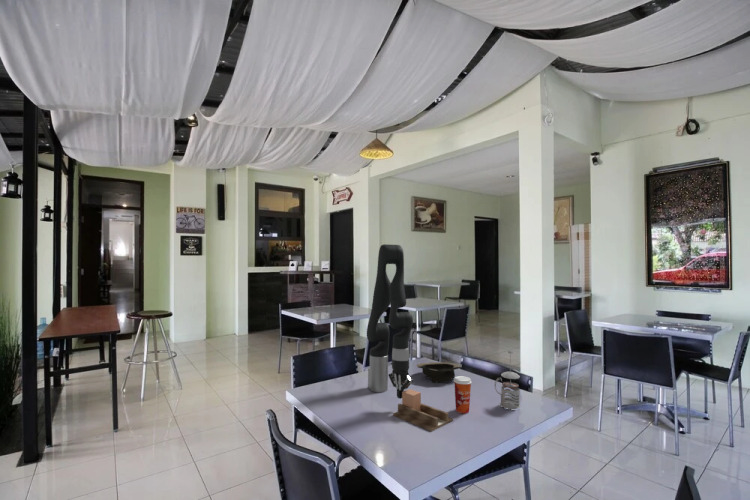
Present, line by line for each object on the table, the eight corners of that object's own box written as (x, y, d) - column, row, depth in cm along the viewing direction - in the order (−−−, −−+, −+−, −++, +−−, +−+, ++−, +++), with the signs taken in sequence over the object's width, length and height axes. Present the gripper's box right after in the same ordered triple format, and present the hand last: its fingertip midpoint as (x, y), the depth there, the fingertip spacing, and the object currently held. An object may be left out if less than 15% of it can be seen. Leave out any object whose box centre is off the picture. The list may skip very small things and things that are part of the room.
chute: (393, 415, 157) (393, 406, 157) (414, 406, 167) (414, 397, 167) (431, 431, 143) (431, 421, 143) (452, 421, 152) (452, 411, 153)
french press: (524, 411, 163) (524, 353, 164) (496, 409, 165) (496, 352, 166) (519, 403, 173) (519, 348, 173) (493, 400, 175) (493, 347, 176)
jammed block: (402, 410, 160) (402, 391, 160) (409, 407, 163) (409, 389, 163) (412, 415, 155) (413, 395, 155) (420, 411, 159) (420, 392, 159)
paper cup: (458, 415, 158) (458, 381, 159) (450, 408, 166) (450, 376, 166) (475, 413, 160) (475, 380, 161) (466, 406, 168) (466, 375, 168)
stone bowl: (443, 388, 191) (442, 369, 192) (407, 380, 209) (406, 363, 210) (471, 377, 208) (469, 360, 208) (435, 371, 226) (434, 355, 227)
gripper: (383, 356, 166) (383, 396, 166) (406, 362, 157) (405, 404, 156) (395, 353, 172) (395, 392, 171) (417, 359, 162) (417, 399, 161)
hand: (400, 397), depth 164 cm, fingers closed
